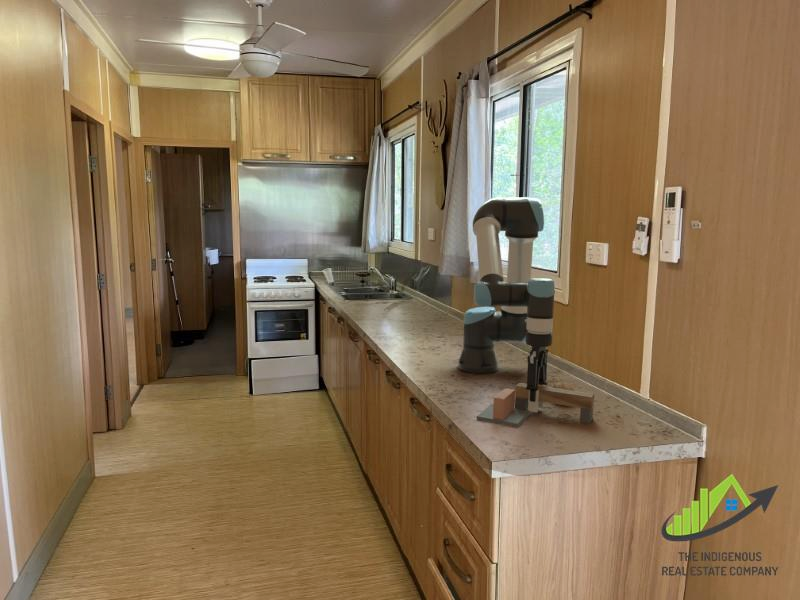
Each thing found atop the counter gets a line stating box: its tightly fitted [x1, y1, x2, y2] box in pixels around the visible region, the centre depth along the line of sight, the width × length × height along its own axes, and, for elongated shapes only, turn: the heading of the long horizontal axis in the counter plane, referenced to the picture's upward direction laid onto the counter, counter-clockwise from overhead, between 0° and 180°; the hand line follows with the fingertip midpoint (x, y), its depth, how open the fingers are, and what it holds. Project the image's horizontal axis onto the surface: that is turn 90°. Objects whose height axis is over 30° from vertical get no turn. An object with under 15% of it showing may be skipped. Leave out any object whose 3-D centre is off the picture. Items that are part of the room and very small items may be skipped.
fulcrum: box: [476, 387, 531, 428], centre depth 164 cm, size 12×12×7 cm
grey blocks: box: [514, 397, 594, 425], centre depth 166 cm, size 5×22×4 cm, turn 61°
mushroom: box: [553, 381, 575, 391], centre depth 178 cm, size 8×8×6 cm
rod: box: [515, 382, 595, 410], centre depth 165 cm, size 4×22×4 cm, turn 61°
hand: (535, 408), depth 168 cm, fingers open, 5 cm apart
